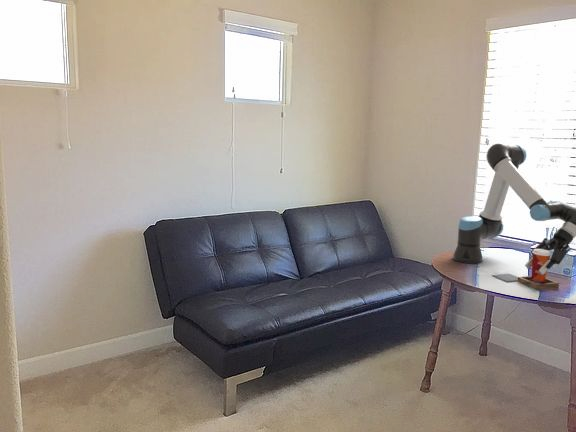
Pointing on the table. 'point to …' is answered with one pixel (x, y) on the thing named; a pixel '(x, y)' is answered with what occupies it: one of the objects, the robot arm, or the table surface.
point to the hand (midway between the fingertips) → (533, 269)
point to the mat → (506, 277)
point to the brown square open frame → (547, 284)
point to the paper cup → (539, 264)
